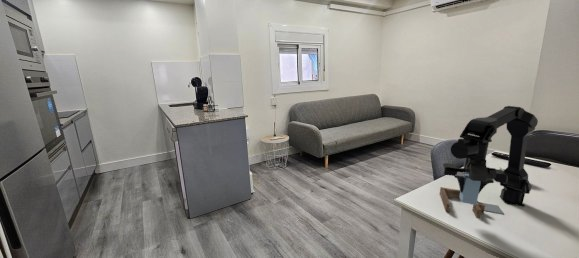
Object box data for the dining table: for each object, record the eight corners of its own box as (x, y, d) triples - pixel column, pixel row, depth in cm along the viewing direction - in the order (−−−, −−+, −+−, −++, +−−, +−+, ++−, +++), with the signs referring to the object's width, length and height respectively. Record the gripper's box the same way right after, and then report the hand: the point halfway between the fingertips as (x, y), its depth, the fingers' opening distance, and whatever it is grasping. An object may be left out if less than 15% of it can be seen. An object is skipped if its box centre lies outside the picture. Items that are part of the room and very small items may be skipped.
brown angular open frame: (475, 199, 106) (476, 192, 105) (487, 219, 92) (488, 211, 91) (439, 193, 112) (440, 187, 111) (445, 211, 98) (446, 204, 97)
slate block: (472, 199, 92) (477, 175, 89) (476, 204, 88) (481, 179, 86) (459, 196, 94) (463, 173, 91) (462, 202, 90) (466, 177, 87)
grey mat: (497, 206, 101) (498, 205, 101) (504, 214, 95) (504, 213, 95) (479, 202, 104) (479, 202, 104) (483, 210, 98) (484, 210, 98)
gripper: (450, 158, 83) (443, 198, 87) (519, 166, 75) (509, 209, 79) (444, 148, 93) (438, 185, 96) (505, 154, 85) (496, 194, 89)
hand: (468, 193), depth 90 cm, fingers closed on slate block, 4 cm apart
